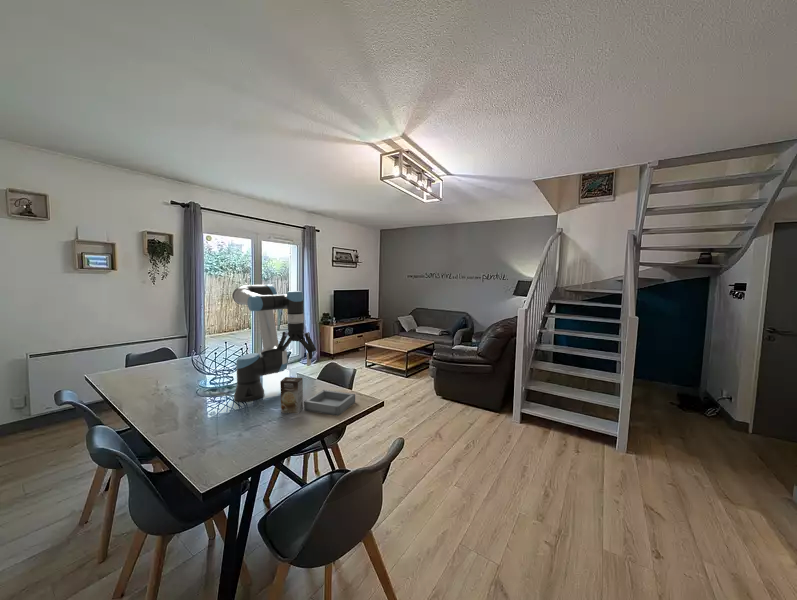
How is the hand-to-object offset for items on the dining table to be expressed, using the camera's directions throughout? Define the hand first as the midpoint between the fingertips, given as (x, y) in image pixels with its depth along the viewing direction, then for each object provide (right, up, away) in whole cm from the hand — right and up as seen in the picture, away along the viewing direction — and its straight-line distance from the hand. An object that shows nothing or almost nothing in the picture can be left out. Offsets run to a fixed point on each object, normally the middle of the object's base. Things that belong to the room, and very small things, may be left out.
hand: (296, 364), depth 152 cm
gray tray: (+16, -22, +5) cm, 28 cm away
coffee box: (-2, -23, 0) cm, 23 cm away
